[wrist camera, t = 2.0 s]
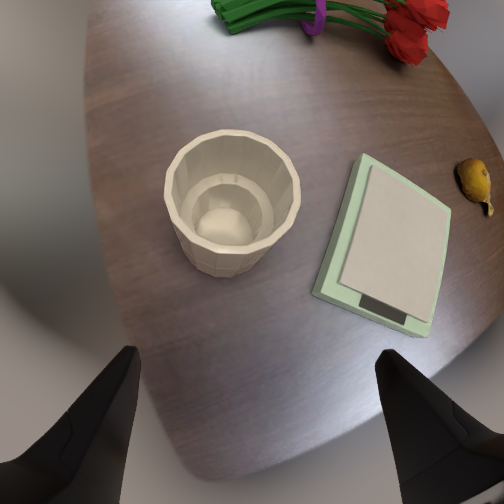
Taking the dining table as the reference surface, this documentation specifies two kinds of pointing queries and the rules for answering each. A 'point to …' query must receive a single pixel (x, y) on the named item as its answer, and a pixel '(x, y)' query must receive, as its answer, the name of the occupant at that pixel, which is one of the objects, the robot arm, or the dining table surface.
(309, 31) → the bouquet
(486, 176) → the fruit
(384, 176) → the scale
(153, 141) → the dining table surface
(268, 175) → the cream faceted cup
